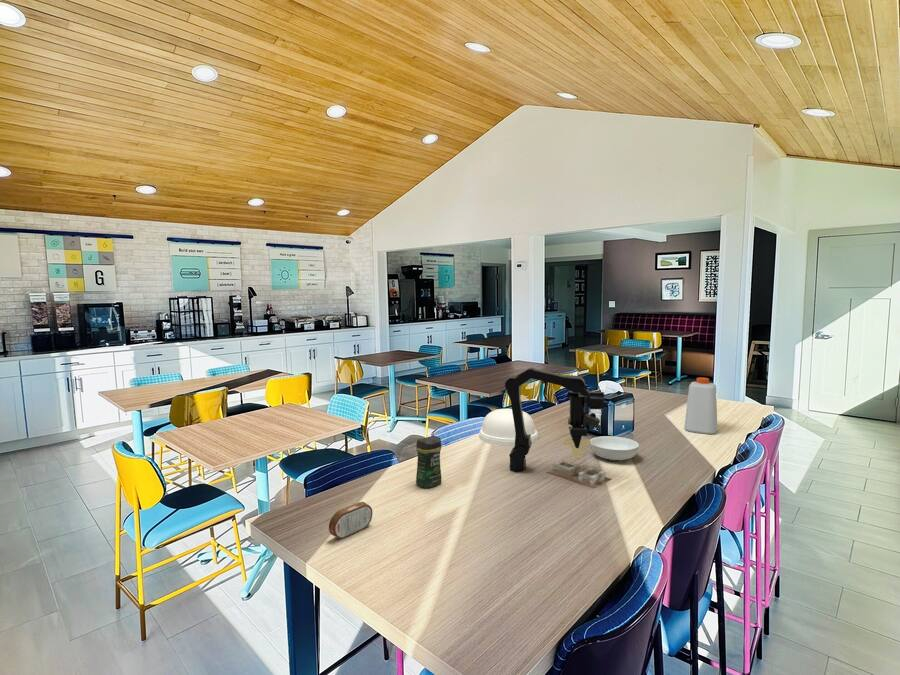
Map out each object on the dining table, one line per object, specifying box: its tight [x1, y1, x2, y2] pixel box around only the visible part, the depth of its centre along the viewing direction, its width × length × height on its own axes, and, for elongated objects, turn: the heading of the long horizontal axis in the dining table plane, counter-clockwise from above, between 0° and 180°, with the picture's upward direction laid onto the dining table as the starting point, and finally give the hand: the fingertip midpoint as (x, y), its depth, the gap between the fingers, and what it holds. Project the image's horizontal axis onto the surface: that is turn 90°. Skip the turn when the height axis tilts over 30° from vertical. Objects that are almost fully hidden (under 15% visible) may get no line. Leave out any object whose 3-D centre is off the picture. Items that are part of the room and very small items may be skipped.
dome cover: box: [478, 408, 539, 447], centre depth 248 cm, size 32×30×14 cm
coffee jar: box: [415, 435, 442, 489], centre depth 187 cm, size 10×8×19 cm
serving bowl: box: [589, 435, 640, 461], centre depth 217 cm, size 21×21×7 cm
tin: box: [328, 501, 373, 539], centre depth 150 cm, size 15×3×8 cm, turn 138°
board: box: [545, 459, 613, 489], centre depth 193 cm, size 13×22×4 cm, turn 43°
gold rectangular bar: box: [563, 438, 591, 459], centre depth 193 cm, size 2×10×7 cm, turn 79°
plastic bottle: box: [683, 376, 718, 435], centre depth 258 cm, size 15×15×28 cm
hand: (577, 447), depth 193 cm, fingers closed on gold rectangular bar, 2 cm apart
